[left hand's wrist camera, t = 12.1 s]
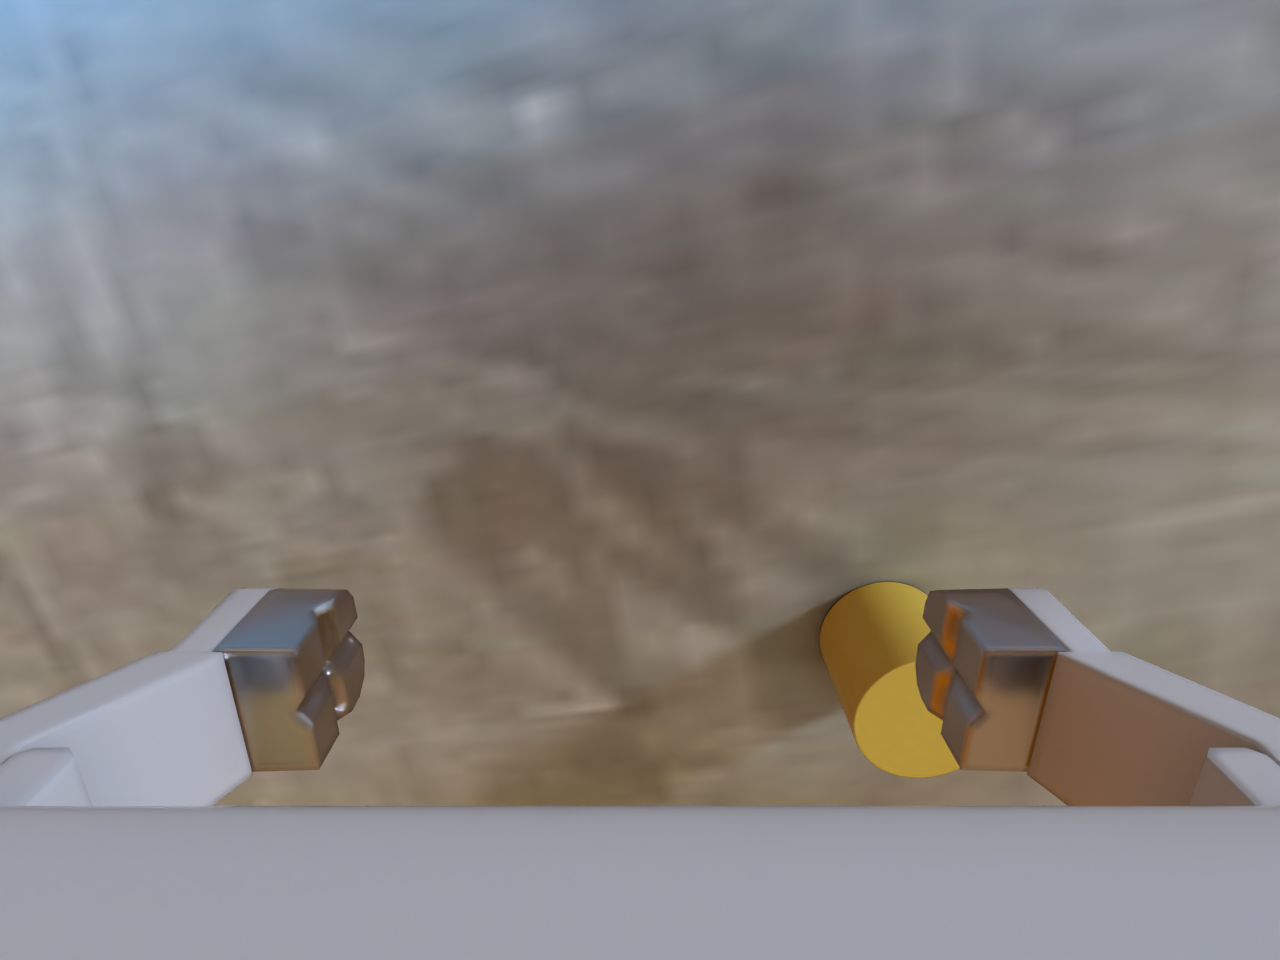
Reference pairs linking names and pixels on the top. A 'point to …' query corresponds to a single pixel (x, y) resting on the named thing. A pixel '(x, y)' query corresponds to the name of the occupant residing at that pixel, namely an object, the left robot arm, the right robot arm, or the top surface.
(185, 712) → the left robot arm
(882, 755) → the can
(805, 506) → the top surface
